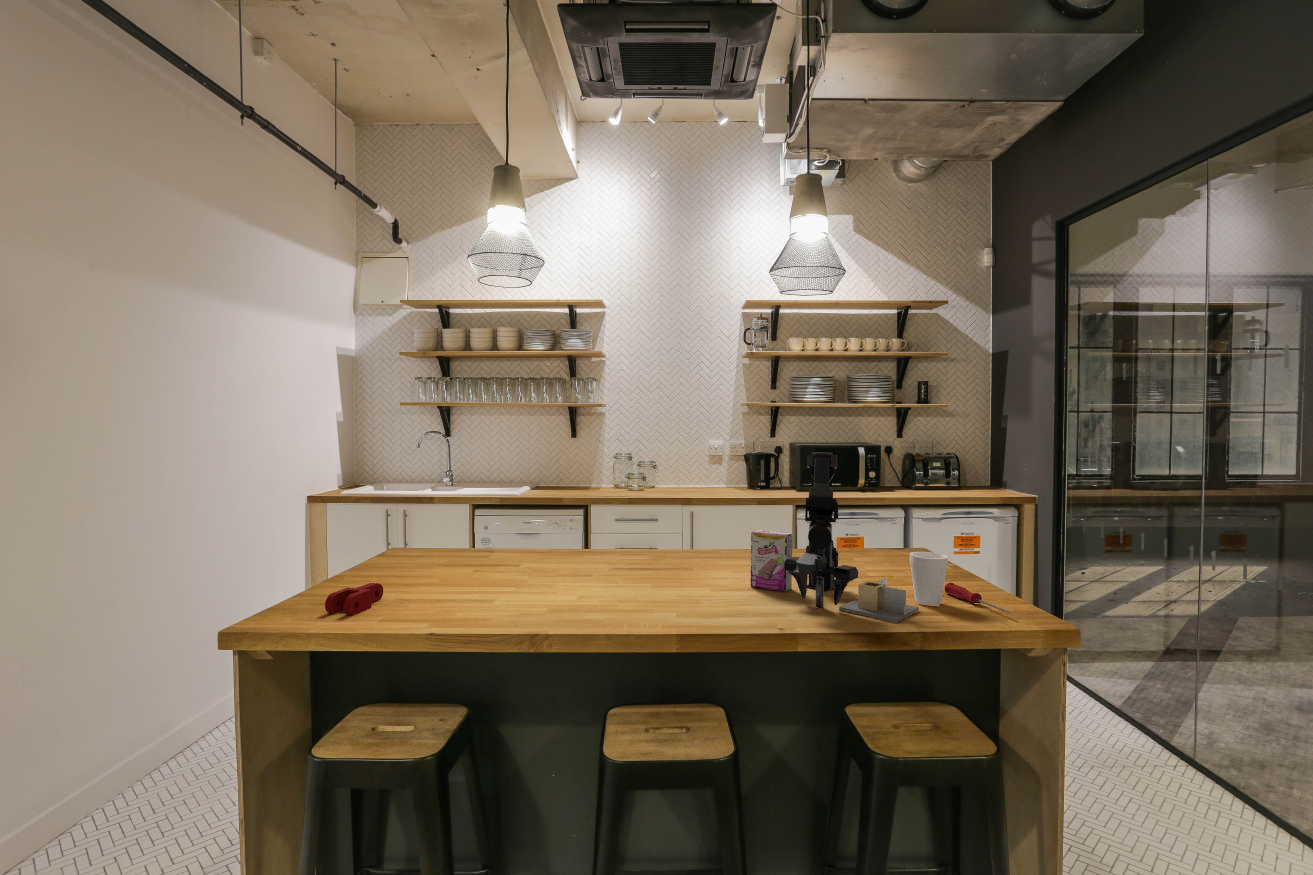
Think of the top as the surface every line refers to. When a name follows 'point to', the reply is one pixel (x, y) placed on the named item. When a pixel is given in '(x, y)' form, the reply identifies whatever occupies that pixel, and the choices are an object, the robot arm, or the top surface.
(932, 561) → the foam cup
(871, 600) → the hinge
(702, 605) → the top surface
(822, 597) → the hinge pin
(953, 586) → the screwdriver
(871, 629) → the top surface
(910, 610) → the base plate
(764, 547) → the candy bar box
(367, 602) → the mechanical linkage
